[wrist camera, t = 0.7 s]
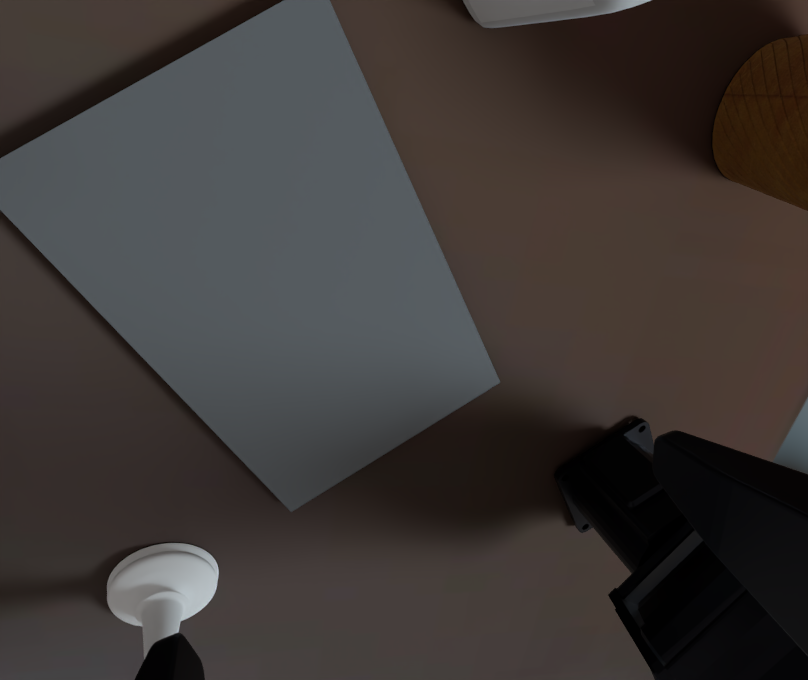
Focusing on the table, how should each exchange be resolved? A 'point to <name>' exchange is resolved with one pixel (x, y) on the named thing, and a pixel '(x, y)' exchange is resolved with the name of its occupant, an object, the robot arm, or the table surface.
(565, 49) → the table surface
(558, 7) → the eye dropper bottle
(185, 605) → the chess piece
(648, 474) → the robot arm
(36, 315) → the table surface
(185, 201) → the slate mat
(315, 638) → the table surface
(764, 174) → the disposable coffee cup
